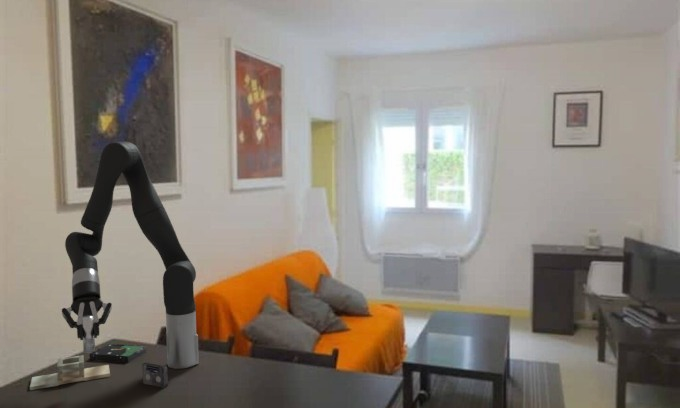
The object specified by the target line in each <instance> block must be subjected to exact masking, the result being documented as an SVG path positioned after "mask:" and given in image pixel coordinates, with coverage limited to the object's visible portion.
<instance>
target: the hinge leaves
mask: <svg viewBox="0 0 680 408" xmlns="http://www.w3.org/2000/svg"><path fill="white" fill-rule="evenodd" d="M84 357H85V356H84V354H82V355H75V356H70V357H69V356H68V357H62V358H58V359H57V364H56V369H57V371H56V372H55V373H50V374H43V375H37V376H32V377H31V381H30V385H29V390H30V391H34V390H41V389H45V388H52V387H57V386H60V385H65V384H70V383H78V382H83V381H84V382H86V381H91V380H92V381H93V380H98V379H104V378H109V377H111V372H110V365H109V364H104V365H97V366H92V367H85V361H84V360H85V359H84Z"/></svg>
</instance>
